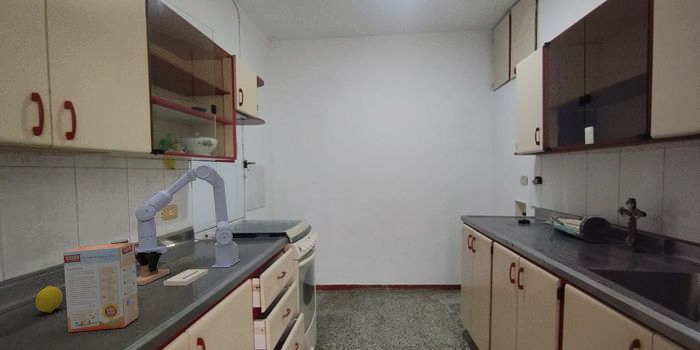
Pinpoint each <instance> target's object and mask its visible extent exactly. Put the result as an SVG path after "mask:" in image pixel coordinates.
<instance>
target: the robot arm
mask: <svg viewBox="0 0 700 350" xmlns="http://www.w3.org/2000/svg"><path fill="white" fill-rule="evenodd" d="M197 180H202V181H205V182H206V183H208V184H209V185H211V186H212V191H213V192H212V193H213V201H214V203H213V204H214V210H215V211H214V212H215V221H216V230H215V233H214V237H215V240H216V242H215V243H214V251H215V253H214V255H215V264H213V265H211V268H230V267H231V266H233V265H235V264H237V263H238V262H240V261H241V259H240V258H239V247H238V244H237V243H236V242H235V241H233V233H232V232H231V231H230V225H229V217H228V208H227V200H226V199H227V198H226V189H225V181H224V178H222V176H221V175H220V174H219V172H217V171H216V169H214V168H213V166H210V165H209V164H206V163H200V164H197V165H196V166H195V168H192V169H190V170H189V171H187V172H186V173H184V174H183V175H182V176H180V177H179V178H178V179H177V180H176V181H175V182H174V183H173V184H172V185H170V186H169V187H168V188H166V189H163V190H160V191H155V192H154V193H153V194H154V196H152V197H150V199H148V200H147V201H146V200H145V201H144V202H143V204H144V205H141V206H139V207H138V208H137V209H136V210H135V218H136V219H137V227H136V228H137V240H138V247H134V248H135V261H137V262H138V264H139V266H140V267H141V266H144V265H146V264H149V269H150V272H154V271H156V269H157V264H158V265H159V261H160V260H161V259H160V258H161V256H162V255H163V254H165V253H167V252H168V246H162V245H158V240H157V239H158V238H157V226H156V218H155V216H156V214H157V213H159V212H161V211H162V210H163V209H164V208H165V207H166V206H168V205H169V204H170V203H171V202H173V197H174V195H175V194H177V193H178V192H179V191H180V190H181V189H183V188H184V187H185V186H187V185H188V184H189V183H191V182H194V181H197Z"/></svg>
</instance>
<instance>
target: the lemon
mask: <svg viewBox="0 0 700 350" xmlns="http://www.w3.org/2000/svg"><path fill="white" fill-rule="evenodd" d="M63 296H64V295H63V292H62V290H61V289H60V288H59V287H57V286H54V285H53V286H52V285H47V286H46V287H44V288H43V289H41V290H40V291H39V292H38V293H37V294H36V297H35V300H34V301H35V306H36V309H37V310H39V311H41V312H44V313H45V312H46V313H48V314H50V313H52V312H53V311H54V310H56V309H57V308H59V307H60V305H61V304H62V302H63Z"/></svg>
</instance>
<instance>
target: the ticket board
mask: <svg viewBox="0 0 700 350" xmlns="http://www.w3.org/2000/svg"><path fill="white" fill-rule="evenodd" d="M208 274H209V269H207V268H205V269H201V268H200V269H199V268H198V269H195V268H194V269H186V270H184V271H182V272H179V273H178V274H176V275H174V276H171V277H169V278H167V279H165V280H164V281H163V286H188V285H189V284H191V283H193V282H195V281H197V280H198V279H200V278H203V277H204V276H205V275H208Z"/></svg>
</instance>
